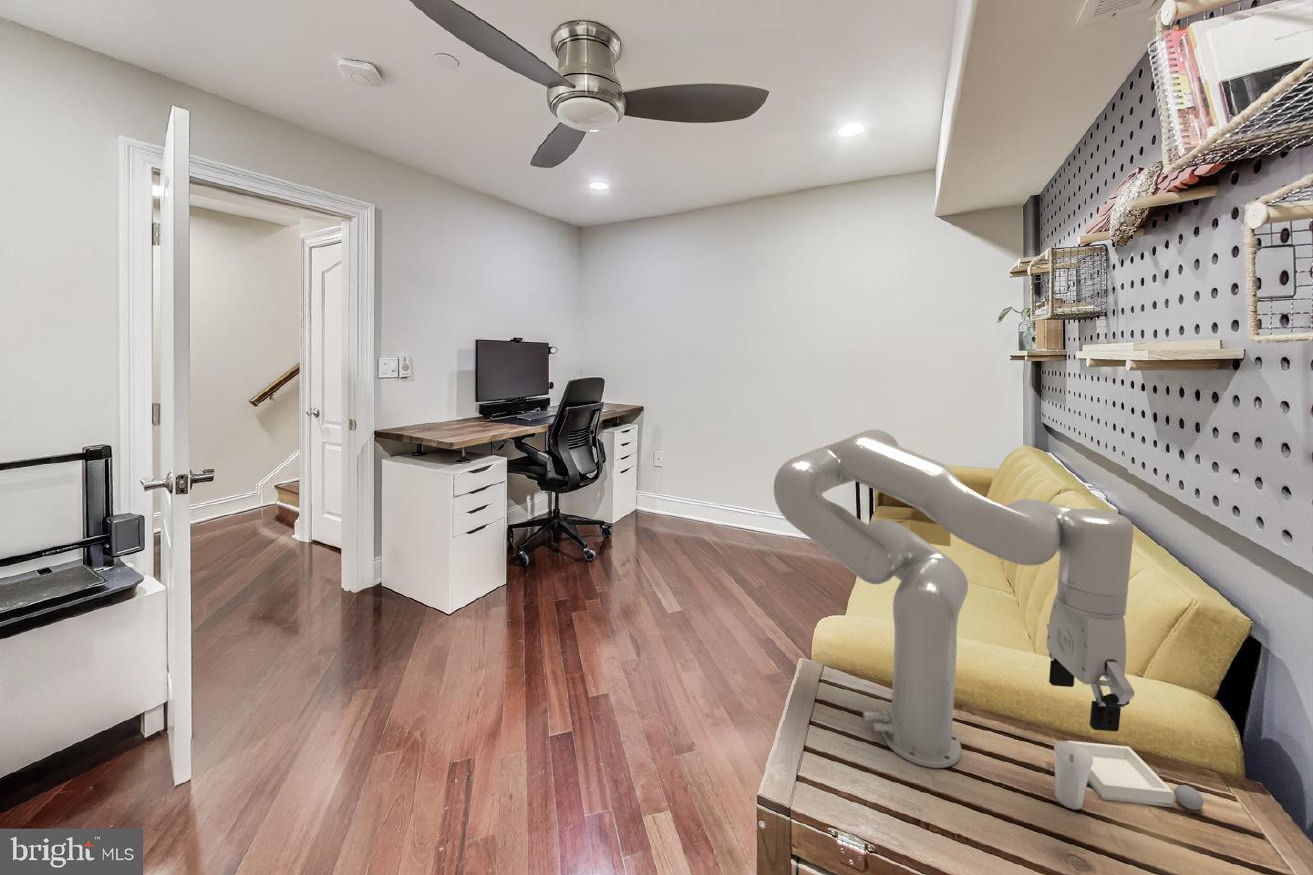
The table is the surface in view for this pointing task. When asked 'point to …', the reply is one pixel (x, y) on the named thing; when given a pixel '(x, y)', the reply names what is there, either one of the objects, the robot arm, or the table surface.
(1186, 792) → the ball
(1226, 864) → the table surface
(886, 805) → the table surface
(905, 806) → the table surface
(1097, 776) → the tray
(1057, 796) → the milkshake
